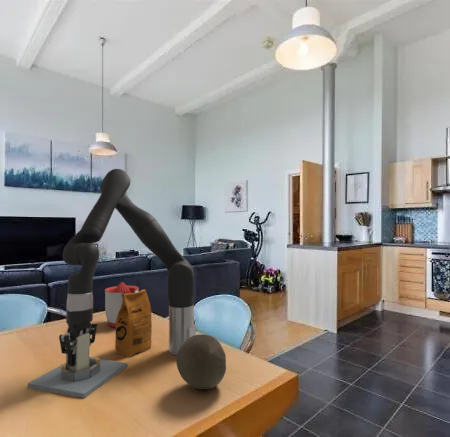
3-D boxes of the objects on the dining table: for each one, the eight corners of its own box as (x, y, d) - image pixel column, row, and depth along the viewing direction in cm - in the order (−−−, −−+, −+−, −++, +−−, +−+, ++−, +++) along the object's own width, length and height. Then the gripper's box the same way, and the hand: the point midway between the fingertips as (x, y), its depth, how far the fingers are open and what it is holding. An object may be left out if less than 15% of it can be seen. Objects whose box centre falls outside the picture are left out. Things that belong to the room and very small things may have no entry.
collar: (106, 367, 103) (106, 356, 103) (82, 383, 92) (82, 371, 92) (79, 362, 106) (79, 353, 106) (52, 378, 95) (52, 367, 95)
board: (127, 366, 106) (127, 362, 106) (84, 398, 87) (84, 393, 87) (78, 359, 111) (78, 355, 111) (27, 387, 92) (27, 383, 92)
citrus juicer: (114, 333, 138) (114, 287, 139) (99, 323, 151) (99, 282, 152) (146, 325, 149) (146, 282, 149) (130, 317, 162) (130, 278, 162)
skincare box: (89, 373, 98) (90, 333, 99) (76, 378, 95) (77, 337, 95) (77, 368, 102) (78, 330, 102) (64, 373, 98) (65, 333, 98)
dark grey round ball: (201, 372, 102) (201, 325, 102) (236, 386, 93) (235, 334, 93) (167, 390, 91) (167, 337, 91) (202, 408, 82) (202, 349, 82)
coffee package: (111, 351, 118) (111, 292, 118) (139, 342, 128) (139, 287, 128) (127, 358, 112) (127, 296, 112) (155, 347, 122) (155, 290, 122)
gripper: (86, 301, 107) (85, 352, 106) (51, 311, 93) (49, 370, 92) (105, 302, 104) (104, 355, 104) (72, 313, 91) (70, 374, 90)
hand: (78, 362), depth 98 cm, fingers closed on skincare box, 5 cm apart
